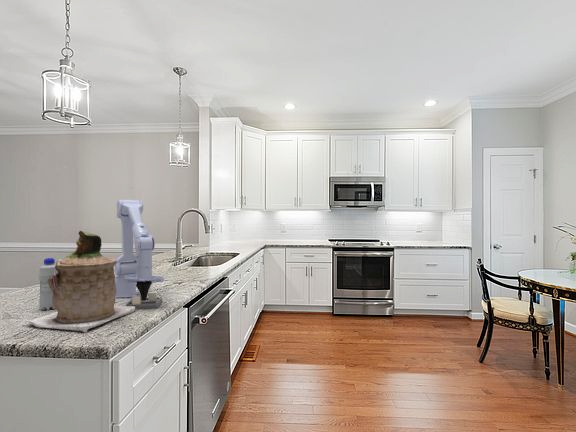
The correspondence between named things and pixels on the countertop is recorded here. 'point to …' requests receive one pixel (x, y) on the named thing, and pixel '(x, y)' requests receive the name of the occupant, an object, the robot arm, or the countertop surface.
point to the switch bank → (146, 304)
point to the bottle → (46, 283)
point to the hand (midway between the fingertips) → (144, 300)
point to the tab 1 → (136, 299)
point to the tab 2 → (152, 296)
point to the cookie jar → (83, 289)
